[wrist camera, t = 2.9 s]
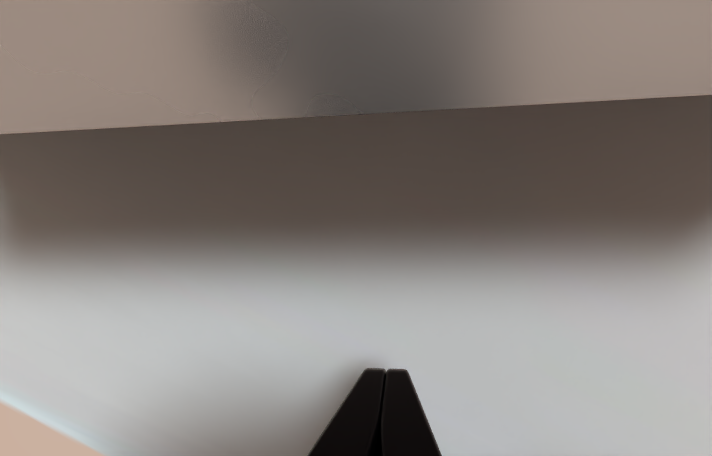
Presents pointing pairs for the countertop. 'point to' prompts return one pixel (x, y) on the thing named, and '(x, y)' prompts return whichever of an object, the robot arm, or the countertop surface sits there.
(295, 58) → the gauge plunger
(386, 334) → the countertop surface
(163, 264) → the countertop surface
